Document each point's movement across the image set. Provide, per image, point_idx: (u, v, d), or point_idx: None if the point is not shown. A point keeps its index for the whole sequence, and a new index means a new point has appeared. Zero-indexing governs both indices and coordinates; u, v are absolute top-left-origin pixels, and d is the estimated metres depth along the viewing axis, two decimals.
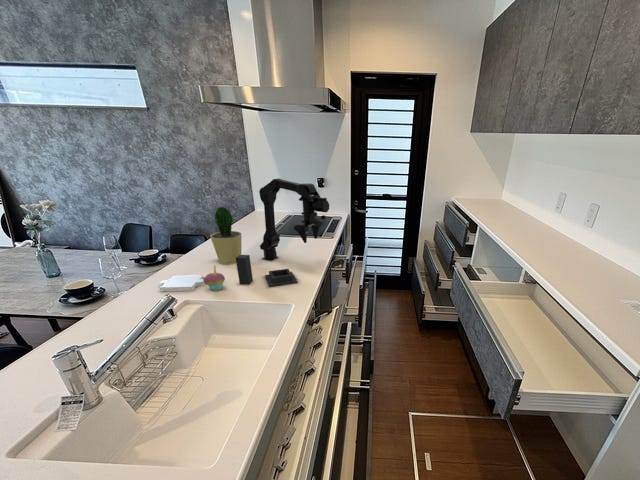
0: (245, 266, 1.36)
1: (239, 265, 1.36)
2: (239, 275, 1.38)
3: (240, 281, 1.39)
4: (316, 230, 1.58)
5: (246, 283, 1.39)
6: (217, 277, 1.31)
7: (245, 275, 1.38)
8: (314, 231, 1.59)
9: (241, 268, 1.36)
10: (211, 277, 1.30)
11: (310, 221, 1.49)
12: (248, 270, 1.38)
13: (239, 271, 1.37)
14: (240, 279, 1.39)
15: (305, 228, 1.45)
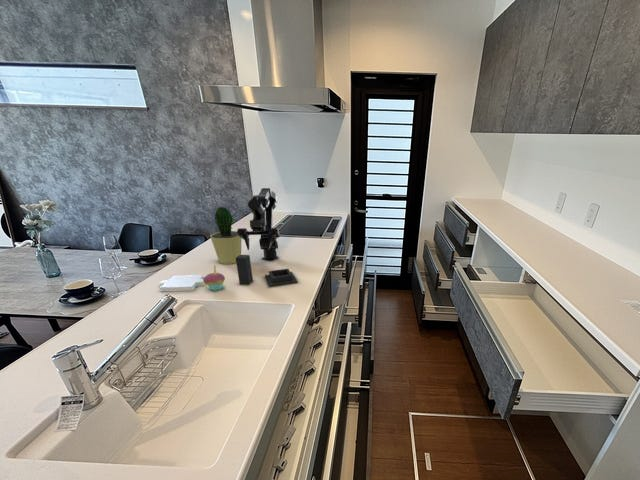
0: (245, 266, 1.36)
1: (239, 265, 1.36)
2: (239, 275, 1.38)
3: (240, 281, 1.39)
4: None
5: (246, 283, 1.39)
6: (217, 277, 1.31)
7: (245, 275, 1.38)
8: None
9: (241, 268, 1.36)
10: (211, 277, 1.30)
11: None
12: (248, 270, 1.38)
13: (239, 271, 1.37)
14: (240, 279, 1.39)
15: (239, 230, 1.42)
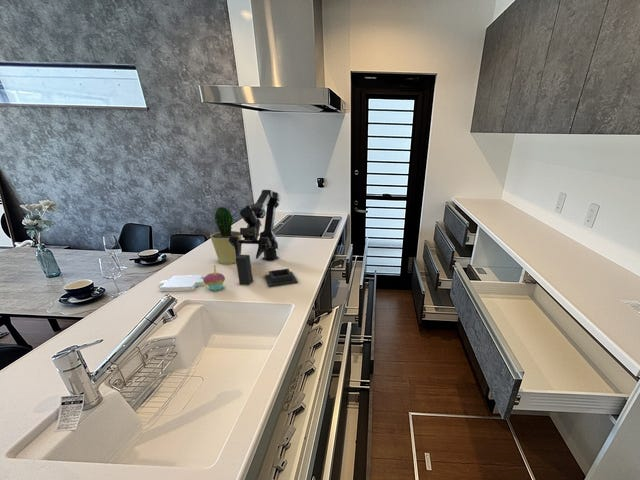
0: (245, 266, 1.36)
1: (239, 265, 1.36)
2: (239, 275, 1.38)
3: (240, 281, 1.39)
4: None
5: (246, 283, 1.39)
6: (217, 277, 1.31)
7: (245, 275, 1.38)
8: None
9: (241, 268, 1.36)
10: (211, 277, 1.30)
11: None
12: (248, 270, 1.38)
13: (239, 271, 1.37)
14: (240, 279, 1.39)
15: (230, 238, 1.42)
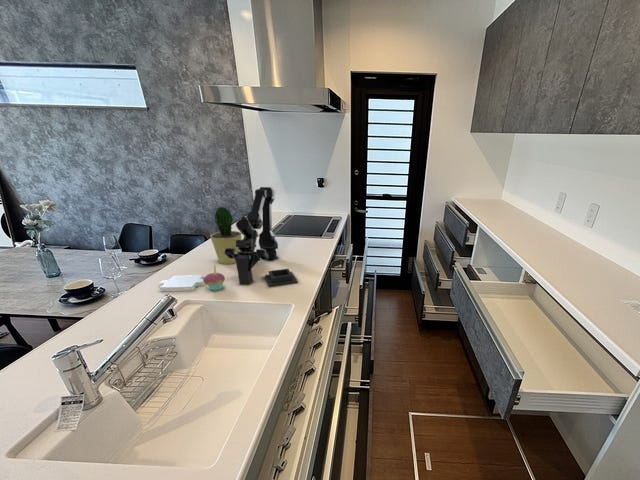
0: (245, 266, 1.36)
1: (239, 265, 1.36)
2: (239, 275, 1.38)
3: (240, 281, 1.39)
4: None
5: (246, 283, 1.39)
6: (216, 277, 1.31)
7: (245, 275, 1.38)
8: None
9: (241, 268, 1.36)
10: (211, 277, 1.30)
11: None
12: None
13: (239, 271, 1.37)
14: (240, 279, 1.39)
15: (226, 250, 1.38)
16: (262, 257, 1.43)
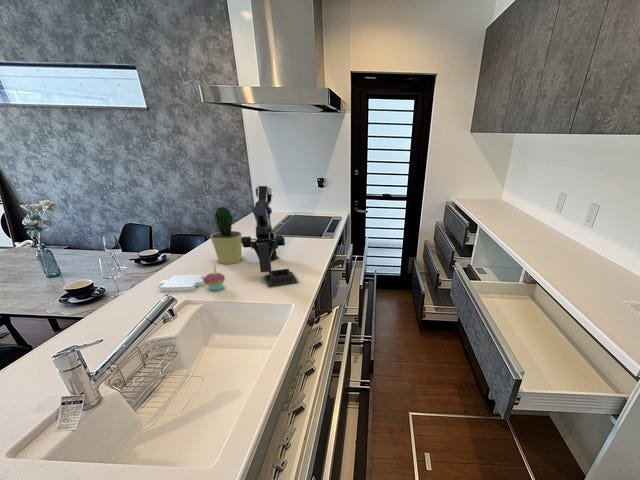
0: (267, 252, 1.36)
1: (261, 252, 1.35)
2: (260, 263, 1.37)
3: (261, 269, 1.38)
4: (269, 248, 1.39)
5: (268, 270, 1.39)
6: (217, 277, 1.31)
7: (266, 261, 1.37)
8: None
9: (263, 255, 1.36)
10: (211, 277, 1.30)
11: (256, 234, 1.38)
12: (269, 257, 1.38)
13: (261, 258, 1.36)
14: (261, 267, 1.38)
15: (243, 238, 1.35)
16: (278, 243, 1.44)
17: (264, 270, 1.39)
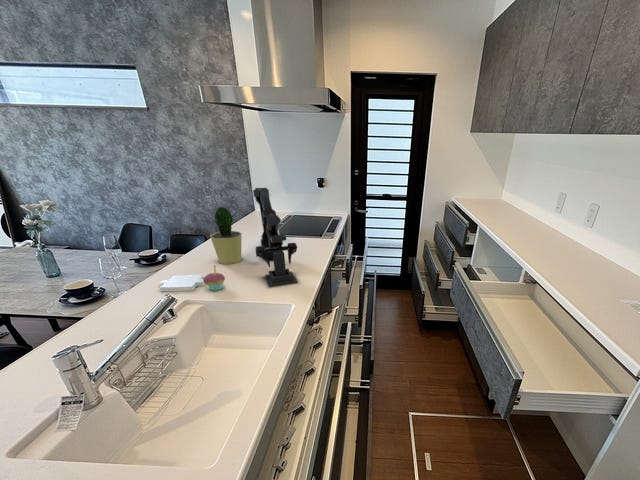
0: (283, 260, 1.40)
1: (277, 261, 1.39)
2: (277, 271, 1.41)
3: None
4: (288, 255, 1.44)
5: None
6: (217, 277, 1.31)
7: (282, 269, 1.42)
8: (288, 257, 1.45)
9: (279, 263, 1.40)
10: (211, 277, 1.30)
11: (269, 243, 1.41)
12: (284, 265, 1.43)
13: (277, 267, 1.40)
14: (278, 275, 1.42)
15: (258, 248, 1.38)
16: None
17: None
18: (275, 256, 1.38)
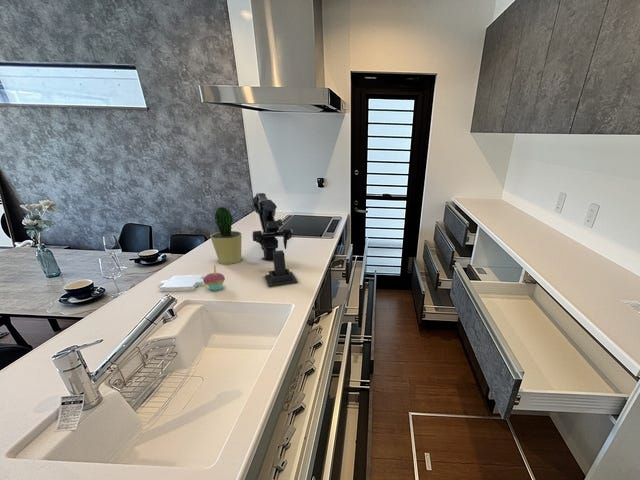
0: (283, 260, 1.40)
1: (277, 261, 1.39)
2: (277, 271, 1.41)
3: None
4: (284, 240, 1.50)
5: None
6: (217, 277, 1.31)
7: (282, 269, 1.42)
8: (284, 243, 1.51)
9: (279, 263, 1.40)
10: (211, 277, 1.30)
11: (266, 228, 1.47)
12: (284, 265, 1.43)
13: (277, 267, 1.40)
14: (278, 275, 1.42)
15: (255, 232, 1.44)
16: None
17: None
18: (275, 256, 1.38)
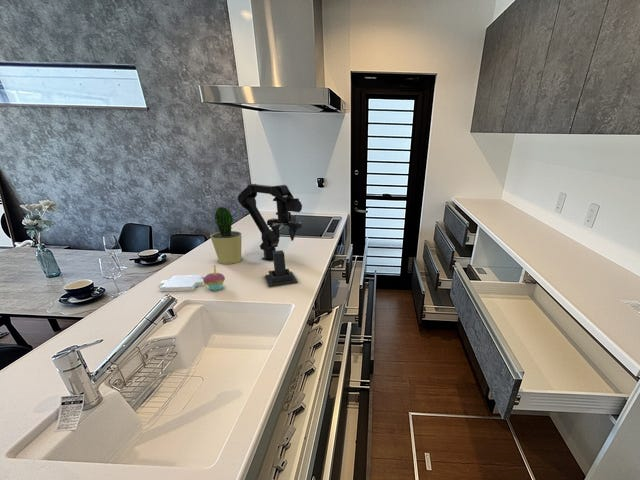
0: (283, 260, 1.40)
1: (277, 261, 1.39)
2: (277, 271, 1.41)
3: None
4: (278, 230, 1.64)
5: None
6: (217, 277, 1.31)
7: (282, 269, 1.42)
8: (277, 231, 1.63)
9: (279, 263, 1.40)
10: (211, 277, 1.30)
11: (291, 219, 1.60)
12: (284, 265, 1.43)
13: (277, 267, 1.40)
14: (278, 275, 1.42)
15: None
16: None
17: None
18: (275, 256, 1.38)
